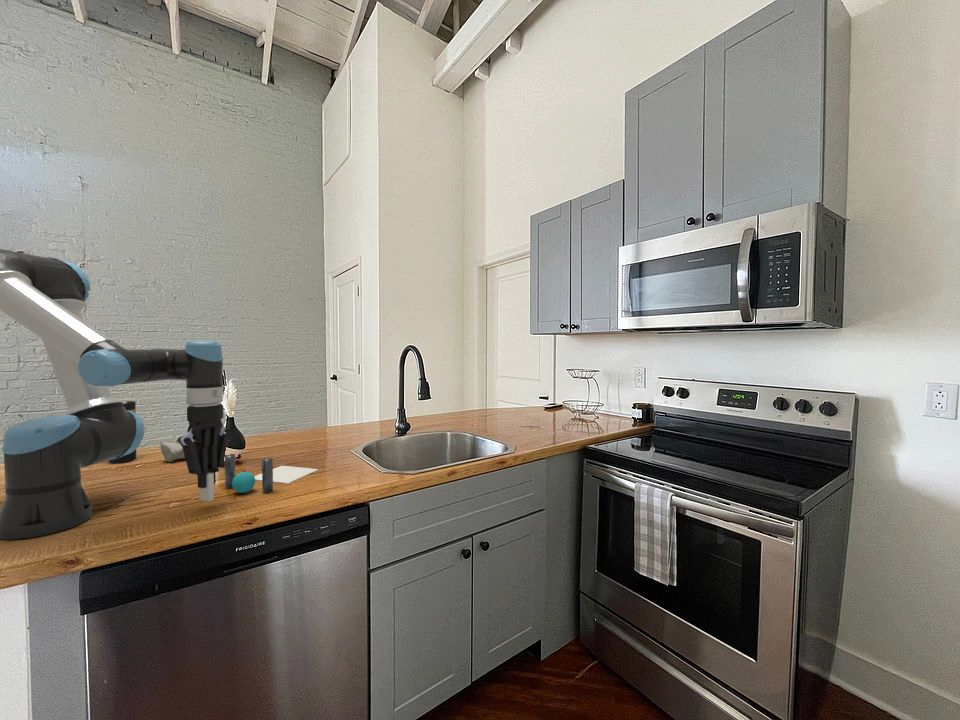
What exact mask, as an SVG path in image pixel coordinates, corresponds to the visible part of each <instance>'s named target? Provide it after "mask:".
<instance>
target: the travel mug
mask: <svg viewBox="0 0 960 720" xmlns="http://www.w3.org/2000/svg"><path fill="white" fill-rule="evenodd" d="M123 404H124V407H125V409H126V410H127V411H132V412H134V413H135V414H137V411H136V409H137V408H136V401H133V400H128V401H126V402H123ZM135 459H136V460H137V449H136V450H134V451H133V452H132V453H130V454H127V455H124V456H122V457H120V458H117V459H114V460H108V463H109V464H112V465H115V464H126V462H127V463H130V461H131V462H134V461H136V460H135ZM133 460H134V461H133Z"/></svg>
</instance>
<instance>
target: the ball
mask: <svg viewBox="0 0 960 720" xmlns="http://www.w3.org/2000/svg"><path fill="white" fill-rule="evenodd" d="M254 476H255V475H254V474H252V473H251V472H248V471H242V472H239V473H238V474H236V476H235V477H234V479H233V481H232V487H233V488H232V489H233V490H234V491H235V492H237V493H239V494H245V493H248V492H250V491H251V490H253V488H254V487H255V484H256V480H255V477H254Z"/></svg>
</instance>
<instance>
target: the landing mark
mask: <svg viewBox="0 0 960 720" xmlns="http://www.w3.org/2000/svg"><path fill="white" fill-rule="evenodd" d="M317 471H319V468H309V467H299V466H290V465H289V466H288V465H279V466H277V467H275V468H274V467H273V483H277V484H279V483H280V484H287V485H288V484H292V483H293V482H296V481H298V480H300V479H301V478H303V477H306V476H308V475H310V474H311V475H312V474H313V473H315V472H317ZM253 476H254V477H255V481H260V482H262V473H259V474H257V475H253Z"/></svg>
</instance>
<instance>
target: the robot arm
mask: <svg viewBox="0 0 960 720" xmlns="http://www.w3.org/2000/svg"><path fill="white" fill-rule="evenodd" d="M89 280H90V279H89V278H88V276H87V275H86V273H85V272H84V271H83V270H82V268H80V267H79V266H78V265H76V264H74V263H72V262H69V261H65V260H62V259H59V258H56V257H45V256H39V255H33V254H28V253H23V252H20V251H19V252H18V251H13V250H8V249H3V248H0V311H1V312H2V313H4V314H5V315H7V316H8V317H9V318H11V319H12V320H14V321H15V322H17V323H18V324H19V325H22V326H23V327H24V328H26V329H27V330H28V331H30V332H32V333H33V334H34V335H36V336H37V337H39V338H40V339H41V342H42V344H43V346H44V348H45V351H46V353H47V356H48V360H49V361H50V364H51V367H52V369H53V372H54V375H55V377H56V379H57V382H58V385H59V388H60V390H61V393H62V395H63V398H64V400H65V404H66V405H67V406H66V407H67V410H66V412H65V413H64V414H61V415H52V416H51V415H50V416H47V417H38V418H32V419H29V420H24V421H22V422H19V423H16V424H14V425H12V426H10V427H9V428H8V429H6V430H5V432H4V435H3V444H2V449H1V450H2V452H3V462H4V463H3V464H4V488H5V493H4V494H5V497H4V500H3V503H2V506H1V508H0V540H4V541H5V540H12V541H13V540H24V539H31V538H36V537H41V536H47V535H50V534H55V533H58V532H62V531H65V530H68V529H69V530H70V529H71V528H74V527H77V526H79V525H81V524H83V523H85V522H88V521H89V520H90V519H91V518H92V517H93V505H92V503H91V501H90V499H89V498H88V495H87V494H86V491H85V490H84V487H83V486H82V481H81V480H82V475H81V474H82V473H81V471H82V470H81V469H82V468H86V467H91V466H93V465H94V466H95V465H97V464H100V463H105V462H109V460H114V459H117V458H120V457H122V456H124V455H127V454H130V453H132V452H133V451H134V450H136V451H137V449H138V448H139V446H140V445H141V442H142V441H143V439H144V436H145V425H144V422H143V419H142V418H141V416H140V415H139V414H137V413H136V414H135V413H134V412H132V411H127V410H126V409H125V407H124V404H123V403H124V402H123V401H122V400H121V399H117V398H115V397H114V396H113V394H112V392H111V390H110V389H111V388H110V387H114V386H119V385H120V386H121V385H128V384H129V385H130V384H136V383H146V382H149V383H150V382H157V381H171V380H172V381H177V380H179V381H181V380H182V381H185V385H186V387H185V389H186V390H185V391H186V404H187V405H188V406H187V407H186V420H187V422H188V428H187V433H186V434H184V435H183V436H184V437H182V436H180V437H178V438H177V439H178V442H179V443H180V444H181V446H182V448H183V452H184V455H185V459H184V460H185V463H186V466H187V470H188V473H189V474H191V475H196V477H197V487H198V489H199V500H200V501H207V502H210V501H212V500H215V484H216V482H217V479H216V474H217V473H218V472H220V468H222V467H223V466H224V465H223V463H224V457H225V451H226V446H227V441H229V440H228V439H229V436H230V434H231V432H232V429H231V428H229V427H225V426H223V425H224V424H223V422H222V419H223V418H224V405H223V403H222V402H223V401H224V383H223V366H224V365H223V364H224V363H223V361H224V358H223V347H222V344H221V343H220V342H218V341H187V342H185V348H184V349H173V348H150V349H126V348H124V347H123V346H121V345H120V344H118V343H117V342H115V341H113V340H112V339H110V337H107V336H106V335H105V334H103V333H102V332H100V331H99V330H97V329H96V328H95V327H93V326H92V325H90V324H89V323H87V322H86V321H84V319H83V317H82V314H81V312H82V311H83V309H84V308H85V307H86V303H85V302H86V301H87V299H89V297H90V293H89V292H90V291H91V284H90V281H89ZM193 442H194V443H193Z"/></svg>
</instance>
